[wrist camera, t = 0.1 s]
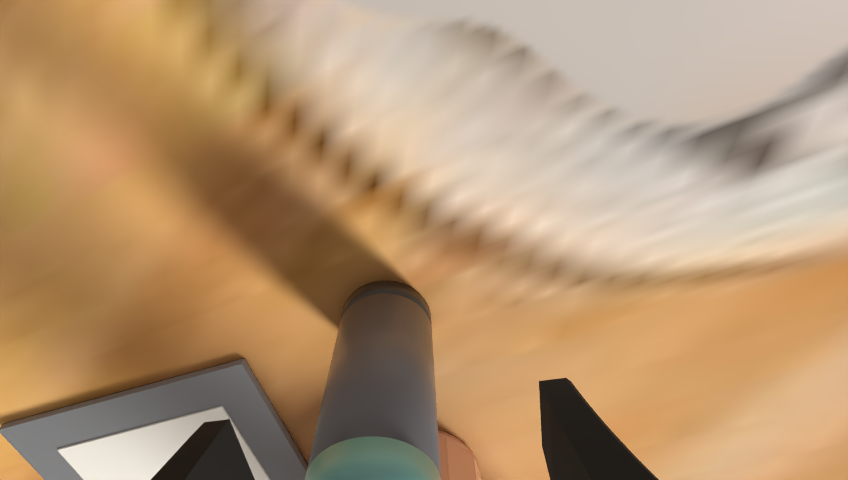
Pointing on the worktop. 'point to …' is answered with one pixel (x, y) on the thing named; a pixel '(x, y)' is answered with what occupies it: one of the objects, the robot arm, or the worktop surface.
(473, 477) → the pen cup
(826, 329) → the worktop surface
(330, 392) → the marker
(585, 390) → the worktop surface
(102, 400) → the writing mat
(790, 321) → the worktop surface
